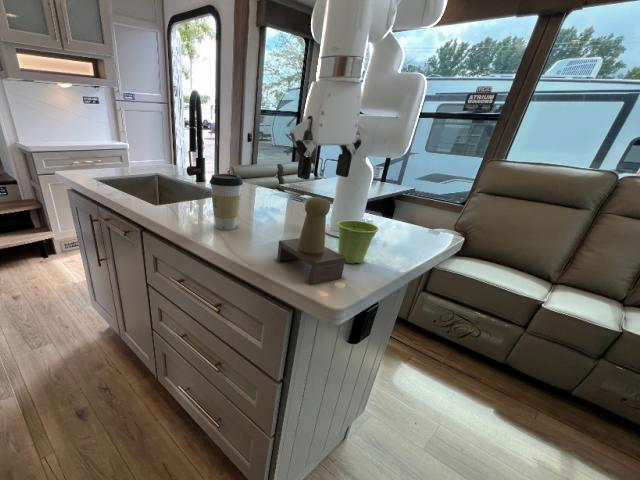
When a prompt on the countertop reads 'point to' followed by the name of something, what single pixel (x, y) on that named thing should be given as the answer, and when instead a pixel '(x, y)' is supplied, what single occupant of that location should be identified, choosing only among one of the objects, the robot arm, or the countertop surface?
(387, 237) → the countertop surface
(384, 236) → the countertop surface
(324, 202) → the olive pawn figure
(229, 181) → the coffee cup
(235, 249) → the countertop surface
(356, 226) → the plant pot
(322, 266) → the shelf
